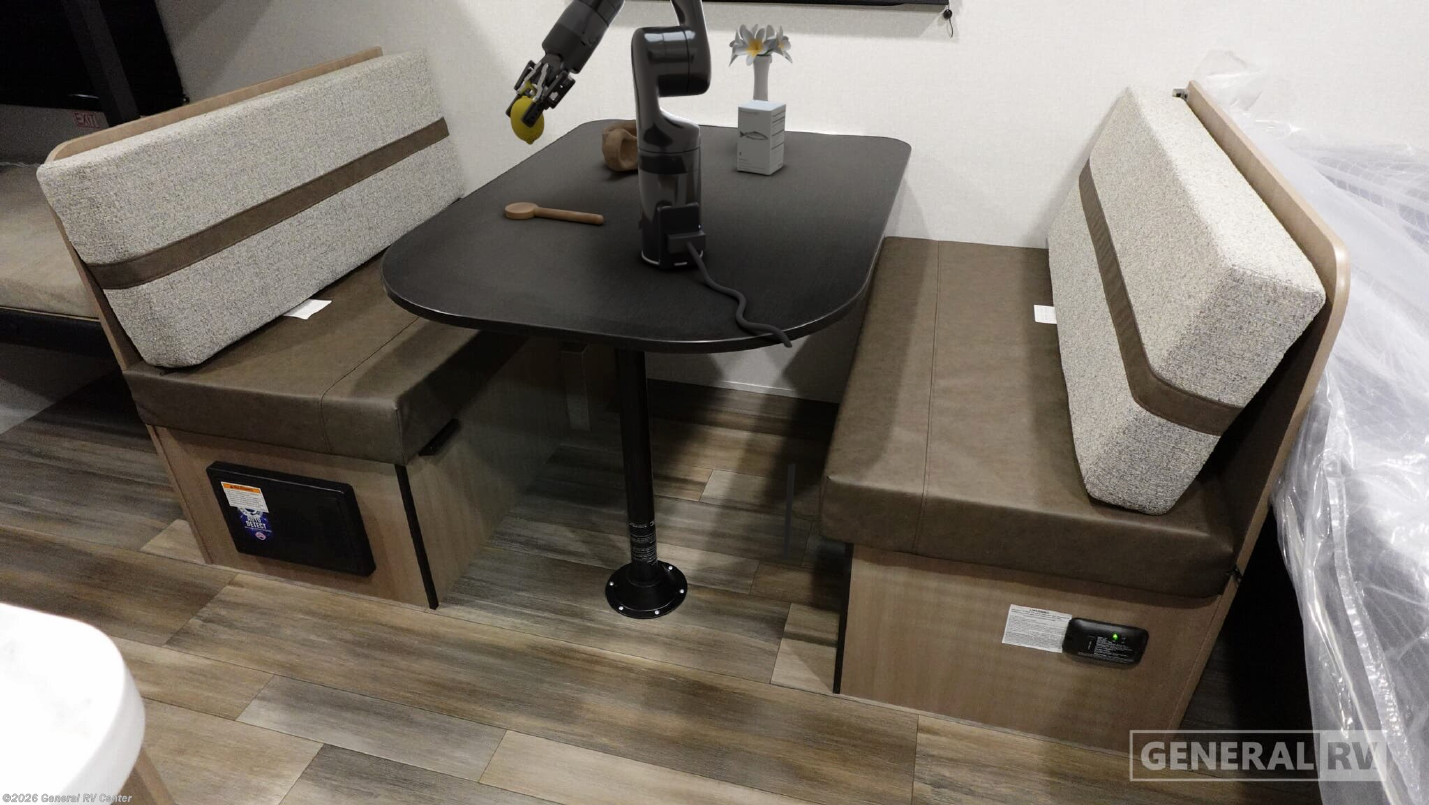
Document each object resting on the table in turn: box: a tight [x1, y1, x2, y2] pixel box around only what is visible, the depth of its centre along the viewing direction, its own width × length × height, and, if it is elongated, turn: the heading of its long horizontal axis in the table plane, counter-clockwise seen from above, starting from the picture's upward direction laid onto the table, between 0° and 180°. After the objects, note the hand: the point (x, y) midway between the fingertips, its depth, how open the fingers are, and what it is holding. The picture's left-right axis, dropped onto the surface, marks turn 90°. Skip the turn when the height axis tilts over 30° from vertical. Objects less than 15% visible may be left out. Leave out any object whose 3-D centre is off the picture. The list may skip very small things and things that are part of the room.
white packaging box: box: [736, 99, 787, 176], centre depth 174 cm, size 7×7×13 cm
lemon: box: [509, 96, 545, 146], centre depth 147 cm, size 6×6×8 cm
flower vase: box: [728, 23, 793, 101], centre depth 184 cm, size 13×18×25 cm
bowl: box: [601, 118, 638, 172], centre depth 175 cm, size 18×14×10 cm
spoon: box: [504, 202, 604, 225], centre depth 152 cm, size 19×6×2 cm, turn 70°
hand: (517, 120), depth 146 cm, fingers closed on lemon, 5 cm apart
